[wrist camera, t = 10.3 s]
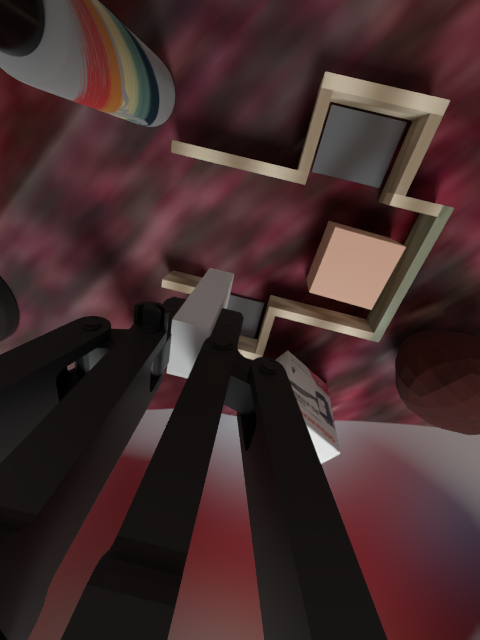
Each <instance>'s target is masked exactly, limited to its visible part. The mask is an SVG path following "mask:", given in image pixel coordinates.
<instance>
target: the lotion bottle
mask: <svg viewBox="0 0 480 640" xmlns="http://www.w3.org/2000/svg"><path fill="white" fill-rule="evenodd" d="M0 67H1V68H2V69H3V70H4V71H5V72H7V73H8V74H9V75H11V76H12V77H14V78H16V79H17V80H19V81H21V82H23V83H25V84H28V85H30V86H33V87H35V88H38V89H41V90H44V91H46V92H49V93H52V94H55V95H57V96H60V97H63V98H66V99H69V100H71V101H74V102H77V103H80V104H83V105H86V106H88V107H91V108H94V109H97V110H100V111H102V112H105V113H108V114H111V115H114V116H116V117H119V118H122V119H125V120H128V121H130V122H133V123H136V124H139V125H142V126H147V127H155V126H159V125H161V124H163V123H164V122H165V121H166V120H167V119H168V118H169V116H170V115H171V113H172V111H173V108H174V104H175V87H174V83H173V79H172V77H171V74H170V72H169V70H168V69H167V67H166V66H165V65H164V63H163V62H162V61H161V60H160V59H159V58H158V57H157V56H156V55H155V54H154V53H153V52H152V51H151V50H150V49H149V48H148V47H147V46H146V45H145V44H144V43H143V42H142V41H141V40H140V39H138V38H137V37H136V36H135V35H134V34H133V33H132V32H131V31H130V30H129V29H128V28H127V27H126V26H125V25H124V24H123V23H122V22H121V21H119V20H118V19H117V18H116V17H115V16H114V15H113V14H112V13H111V12H110V11H109V10H108V9H107V8H106V7H105V6H104V5H103V4H102V3H100V2H99V1H98V0H0Z"/></svg>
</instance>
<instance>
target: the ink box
mask: <svg viewBox="0 0 480 640" xmlns="http://www.w3.org/2000/svg"><path fill="white" fill-rule="evenodd" d="M276 361H278V362H279V363H280V364H282V365H283V367H284V368H285V370H286V373H287V375H288V378H289V381H290V383H291V386H292V389H293V391H294V394H295V397H296V399H297V402H298V405H299V407H300V410H301V413H302V415H303V418H304V420H305V423H306V426H307V428H308V431H309V434H310V436H311V439H312V442H313V444H314V447H315V450H316V452H317V455H318V457H319V460H320V463H321V464H322V463H324V462H326V461H328V460H330V459H332V458H333V457H335V456H337V455H339V454H340V449H339V444H338V439H337V434H336V429H335V424H334V419H333V413H332V408H331V403H330V398H329V393H328V388H327V384H326V383H325V382H323V381H322V380H321V379H320V378H319V377H318V376H317V375H315V374H314V373H313V372H312V371H311V370H310V369H309V368H308V367H306V366H305V365H304V364H303V363H302V362H301V361H299V360H298V359H297V358H296V357H295V356H294V355H293V354H291V353H290V352H289V351H286V352H285V353H284V354H282V355H281V356H280V357H278V358H277V359H276Z"/></svg>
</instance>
